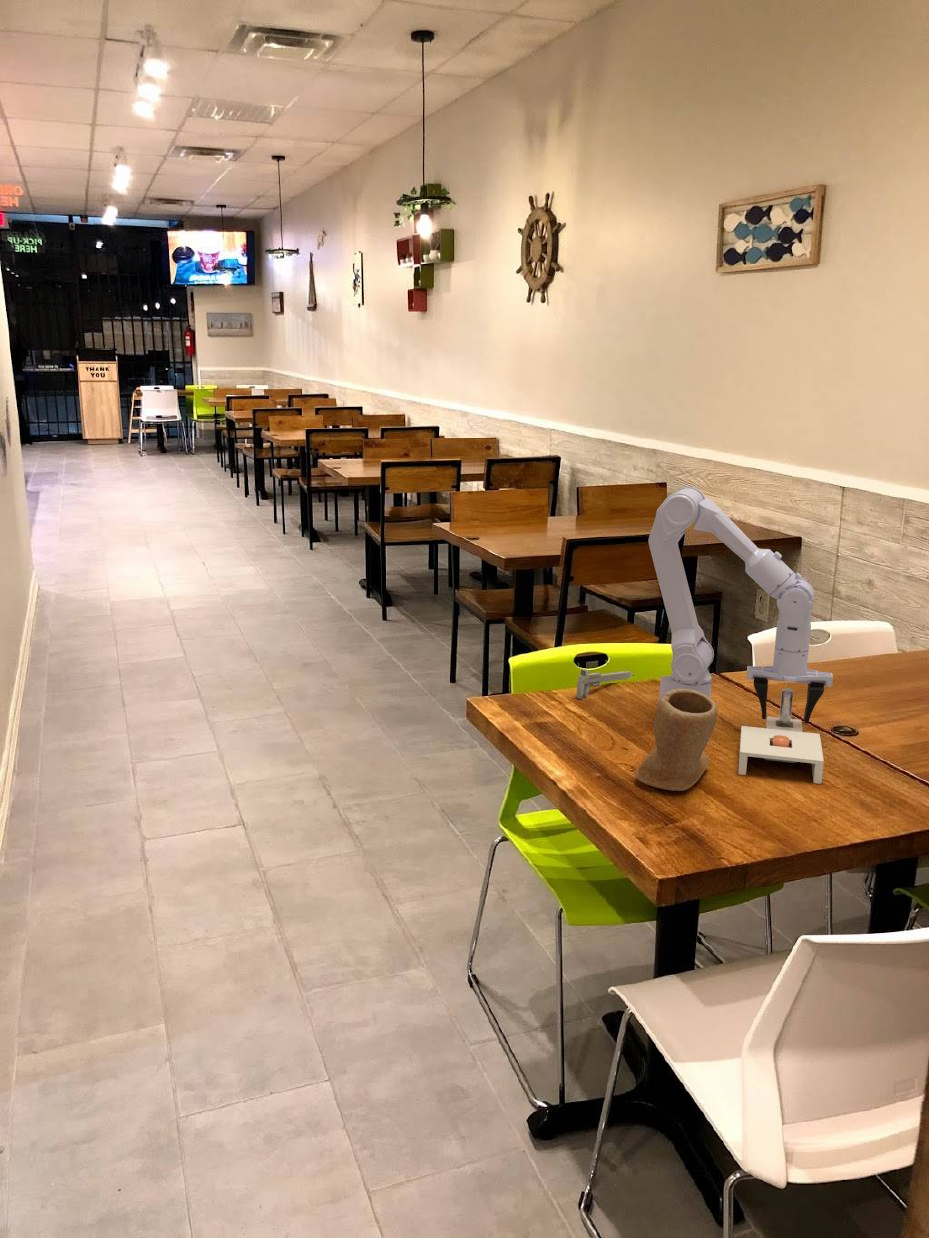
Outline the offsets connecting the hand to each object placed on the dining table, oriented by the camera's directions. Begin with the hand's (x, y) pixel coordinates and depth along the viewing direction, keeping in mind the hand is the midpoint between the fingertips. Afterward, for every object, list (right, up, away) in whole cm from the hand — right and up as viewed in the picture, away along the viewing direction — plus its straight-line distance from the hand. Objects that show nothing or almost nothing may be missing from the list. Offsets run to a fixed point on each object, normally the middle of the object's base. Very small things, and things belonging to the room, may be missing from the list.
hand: (784, 719), depth 174 cm
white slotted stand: (-5, -7, -11) cm, 13 cm away
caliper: (-28, +4, +27) cm, 40 cm away
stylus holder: (0, -3, +1) cm, 3 cm away
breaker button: (-5, -5, -11) cm, 13 cm away
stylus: (0, -3, +1) cm, 3 cm away
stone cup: (-23, -8, -16) cm, 29 cm away
